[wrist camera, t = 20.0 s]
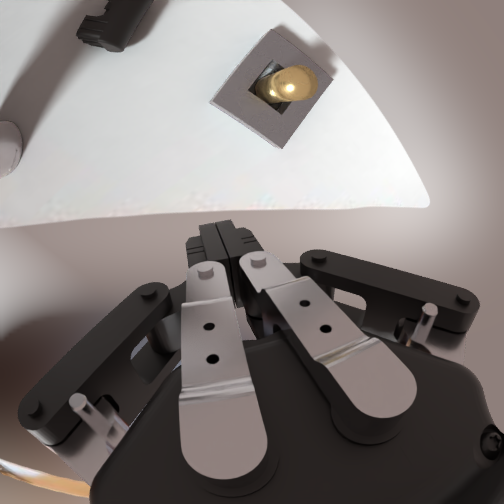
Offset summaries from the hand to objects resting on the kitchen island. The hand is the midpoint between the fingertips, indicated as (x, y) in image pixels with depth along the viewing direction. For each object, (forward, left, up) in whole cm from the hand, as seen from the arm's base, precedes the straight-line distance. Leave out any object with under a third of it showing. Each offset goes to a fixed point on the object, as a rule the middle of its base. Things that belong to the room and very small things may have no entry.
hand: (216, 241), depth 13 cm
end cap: (-21, +13, -29) cm, 38 cm away
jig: (+4, +16, -29) cm, 33 cm away
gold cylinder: (+4, +15, -29) cm, 33 cm away
